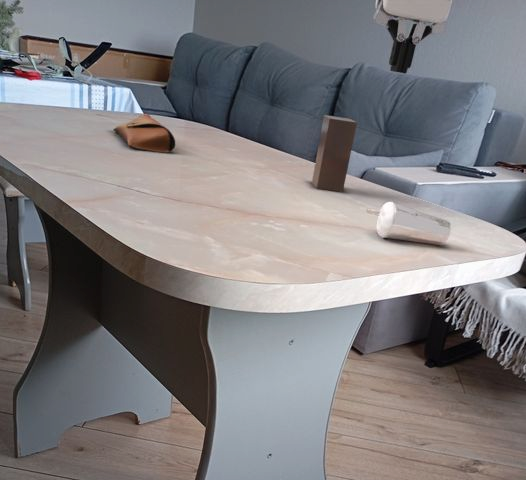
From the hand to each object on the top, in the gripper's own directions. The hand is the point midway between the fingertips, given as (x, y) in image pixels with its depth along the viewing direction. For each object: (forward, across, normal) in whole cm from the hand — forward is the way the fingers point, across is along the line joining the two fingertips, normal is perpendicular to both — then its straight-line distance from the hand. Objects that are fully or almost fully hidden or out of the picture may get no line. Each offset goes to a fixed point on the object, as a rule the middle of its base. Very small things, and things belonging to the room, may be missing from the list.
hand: (398, 71), depth 93 cm
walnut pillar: (+19, +6, -4) cm, 21 cm away
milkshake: (+17, -3, +24) cm, 30 cm away
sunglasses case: (+20, +38, -24) cm, 49 cm away
